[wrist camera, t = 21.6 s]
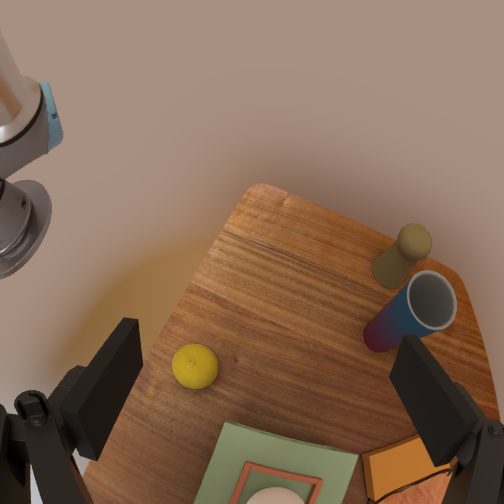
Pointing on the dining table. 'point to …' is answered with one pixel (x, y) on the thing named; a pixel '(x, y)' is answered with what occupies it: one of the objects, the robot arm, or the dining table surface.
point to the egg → (275, 496)
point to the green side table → (273, 467)
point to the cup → (413, 312)
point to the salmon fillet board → (404, 474)
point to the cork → (402, 256)
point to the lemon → (195, 366)
